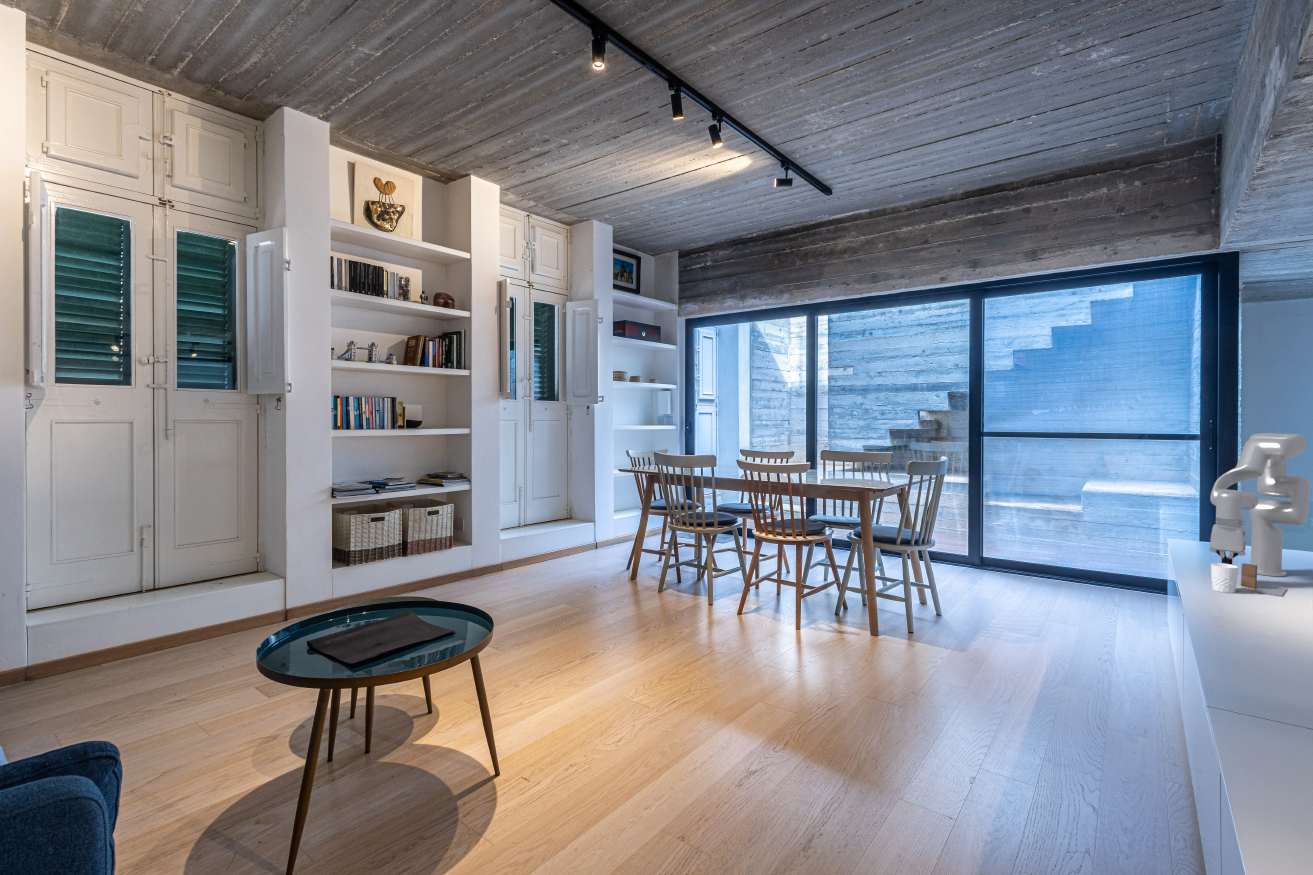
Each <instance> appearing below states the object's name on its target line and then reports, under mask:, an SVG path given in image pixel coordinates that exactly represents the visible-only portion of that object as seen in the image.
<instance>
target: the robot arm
mask: <svg viewBox="0 0 1313 875" xmlns="http://www.w3.org/2000/svg"><path fill="white" fill-rule="evenodd" d="M1243 445H1244V446H1243V448H1242V450H1241V453H1240V456H1239V458H1238V460H1237V464H1236V466H1235V467H1234V468H1232V469H1230V470H1228V471H1226V472H1225V473H1223V474H1222V475H1221V476H1219V477H1218V478H1217V479H1216V481H1215V482H1214V485H1213V487H1212V490H1211V493H1210V497H1209V498H1210V502H1211V504H1212V506H1213V505H1214V506H1215V524H1213V526H1212V528H1211V534H1210V543H1209V544H1210V545H1209V546H1210V547H1209V551H1210V552H1211V553H1212V552H1213V553H1216V554H1217V555H1218V556H1219V557H1220V558H1221V563H1224V564H1231V565H1233V559H1234V558H1235V557H1239V556H1240V557H1243V556H1245V555H1246V533H1245V528H1244V527H1243V526H1246V525H1247V521H1244V520H1242V511H1243V510H1246V511H1249V515H1250V521H1251V522H1250V523H1251V541H1250V543H1251V544H1250V564H1252V565H1257V575H1261V576H1267V577H1268V576H1269V577H1286V576H1287V572H1286V571H1285V570H1282V565H1283V564H1282V562H1283V539H1284V536H1283V532H1282V529H1281V528H1280V526H1278V525H1277V524H1282V525H1291V526H1292V525H1293V526H1302V525H1304V524H1305V523H1306V522H1307V519H1308V516H1309V515H1308V514H1309V506H1310V498H1311V497H1310V496H1311V484H1310V482H1309V480H1308V479H1307V478H1306V477H1303V476H1298V475H1288V474H1287V472H1288V471H1287V470H1288V463H1287V461H1286V460H1290V459H1292V458H1295V457H1297V456H1299V455H1301V454H1302V453H1303V452H1304V451H1305V449H1306V448H1307V440H1306V438H1305V437H1304V436H1303V435H1302V434H1298V433H1277V432H1275V433H1273V432H1259V433H1255V434H1252V435H1251V436H1250V437H1249V439H1248V440H1247V441H1246V442H1245V444H1243ZM1254 479H1257V483H1256V484H1257V485H1256V491H1257V492H1258V494H1259V495H1261V496H1264V497H1265V496H1266V497H1271V498H1281V499H1290V500H1291V501H1287V500H1286V501H1285V500H1276V499H1265V498H1263V499H1260V498H1259V497H1258V495H1257V494H1256V493H1254V492H1252V491H1245V490H1238V489H1237V490H1236V489H1228V488H1229V487H1230V486H1232V485H1234V484H1237V483H1240V482H1245V481H1248V480H1249V481H1250V480H1254ZM1226 552H1229V554H1228V556H1227V554H1226Z"/></svg>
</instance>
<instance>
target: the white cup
mask: <svg viewBox="0 0 1313 875" xmlns="http://www.w3.org/2000/svg"><path fill="white" fill-rule="evenodd" d="M1238 572H1239V566H1237V565H1234V564H1232V565H1231V564H1224V563H1222V562H1219V563H1218V562H1213V563H1210V576H1211V577H1210V580H1211V589H1212V590H1213V591H1215V592H1218V593H1219V592H1220V593H1224V594H1225V593H1227V594H1235V593H1236V587H1237V582H1238Z"/></svg>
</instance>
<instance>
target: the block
mask: <svg viewBox="0 0 1313 875" xmlns="http://www.w3.org/2000/svg"><path fill="white" fill-rule="evenodd" d="M1240 573H1241V574H1240V588H1244V589H1248V590H1249V589H1250V590H1254V591H1255V590H1256V589H1257V588H1258V586H1257V583H1258V582H1257V581H1258V574H1257V565H1252V564H1251V563H1242V564H1241V572H1240Z"/></svg>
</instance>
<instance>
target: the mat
mask: <svg viewBox="0 0 1313 875" xmlns="http://www.w3.org/2000/svg"><path fill="white" fill-rule="evenodd" d="M1287 590H1288V589H1287V588H1284V587H1279V586H1272V585H1267V584H1266V585H1265V584H1259V586H1257V588H1256V589H1255V590H1254V593H1255V594H1264V595H1271V596H1277V597H1283V596H1284V595H1285V593H1286V592H1287Z"/></svg>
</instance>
